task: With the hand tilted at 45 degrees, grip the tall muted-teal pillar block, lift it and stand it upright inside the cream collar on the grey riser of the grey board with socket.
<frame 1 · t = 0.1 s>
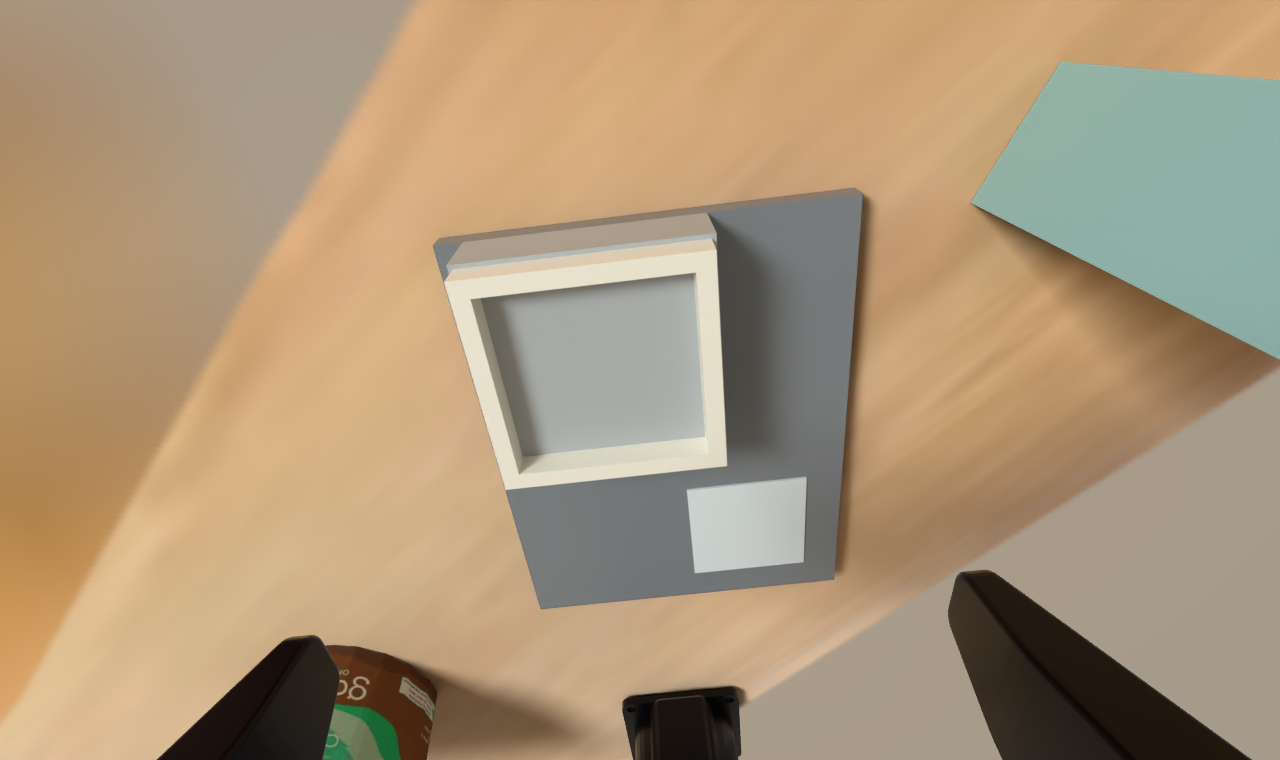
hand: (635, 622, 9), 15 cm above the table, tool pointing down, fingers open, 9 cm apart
pillar: (1068, 161, 20), on the table
grey board with socket: (668, 431, 25), on the table
food container: (335, 664, 32), on the table
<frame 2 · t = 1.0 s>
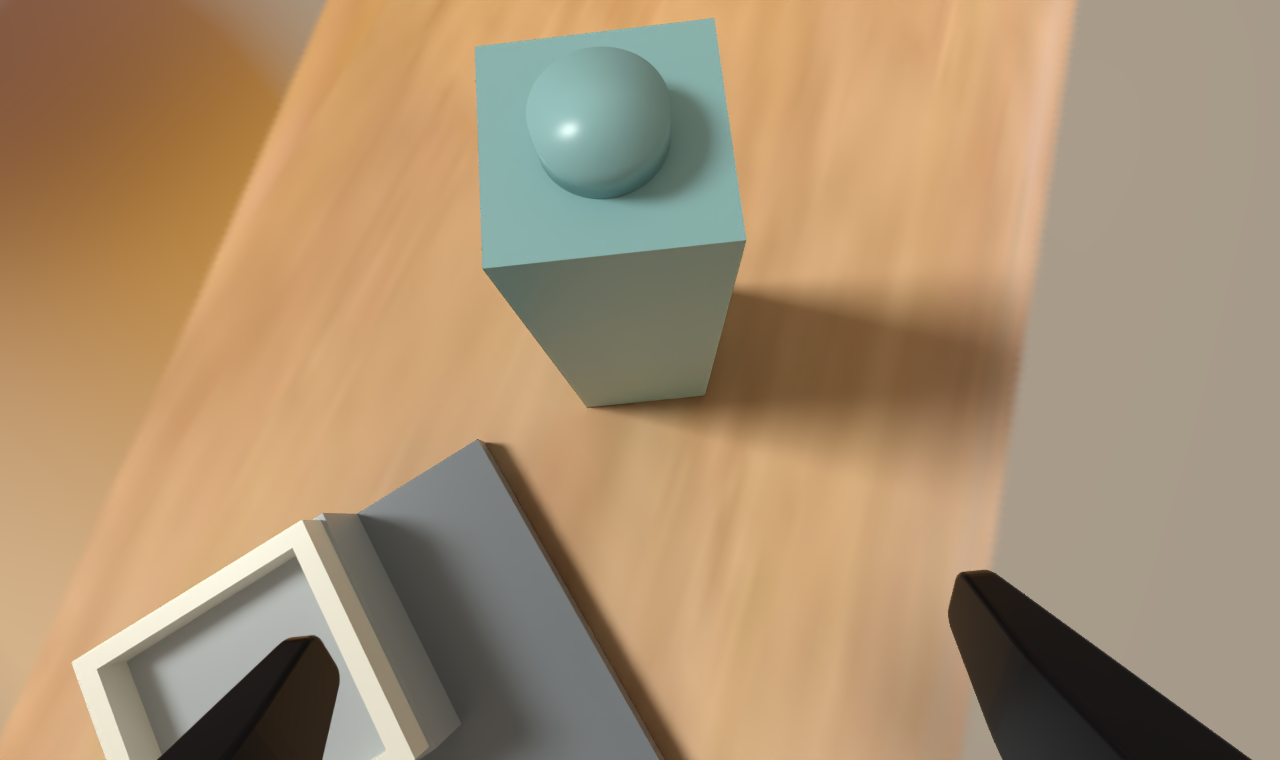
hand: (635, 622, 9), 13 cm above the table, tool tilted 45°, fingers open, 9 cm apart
pillar: (640, 344, 23), on the table
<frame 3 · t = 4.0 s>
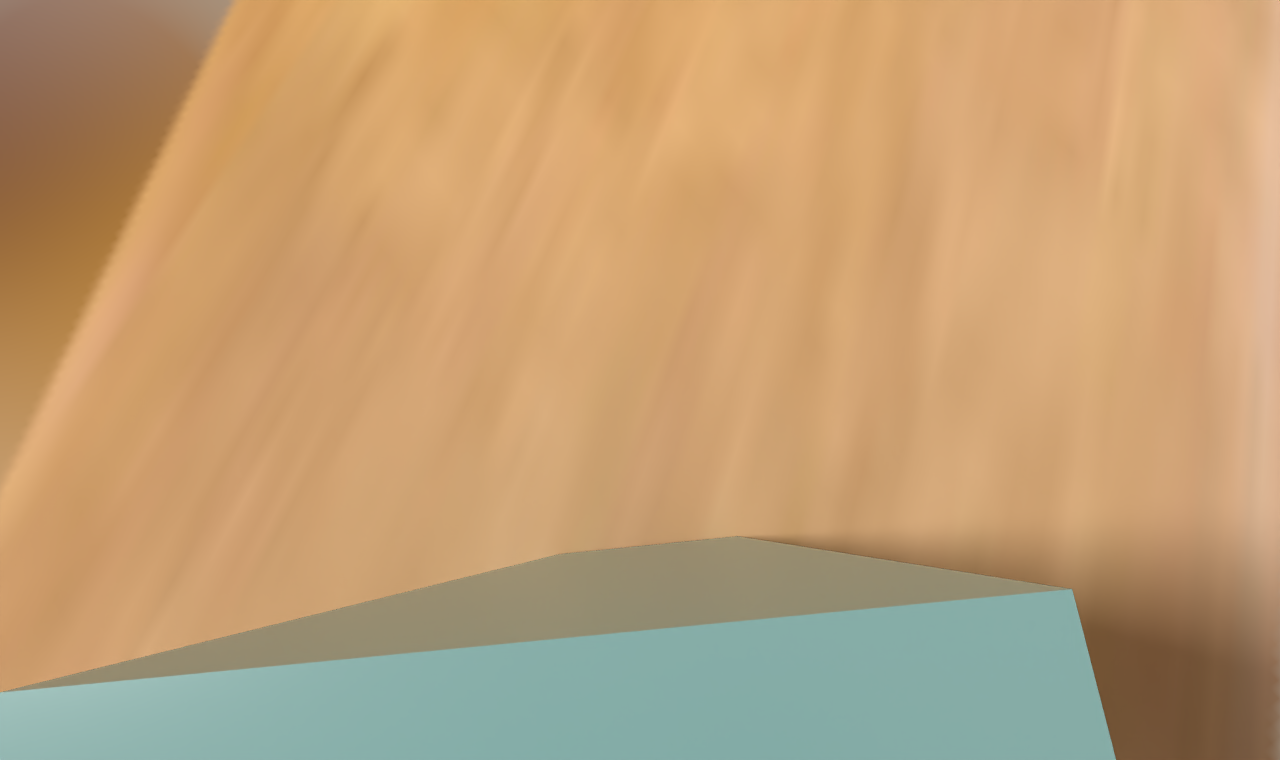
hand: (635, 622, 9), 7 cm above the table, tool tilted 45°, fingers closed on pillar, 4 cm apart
pillar: (657, 641, 15), on the table, touching gripper
when the fingers open (11 cm above the table, at t = 8.6 s): pillar drops 2 cm, resting on grey board with socket.
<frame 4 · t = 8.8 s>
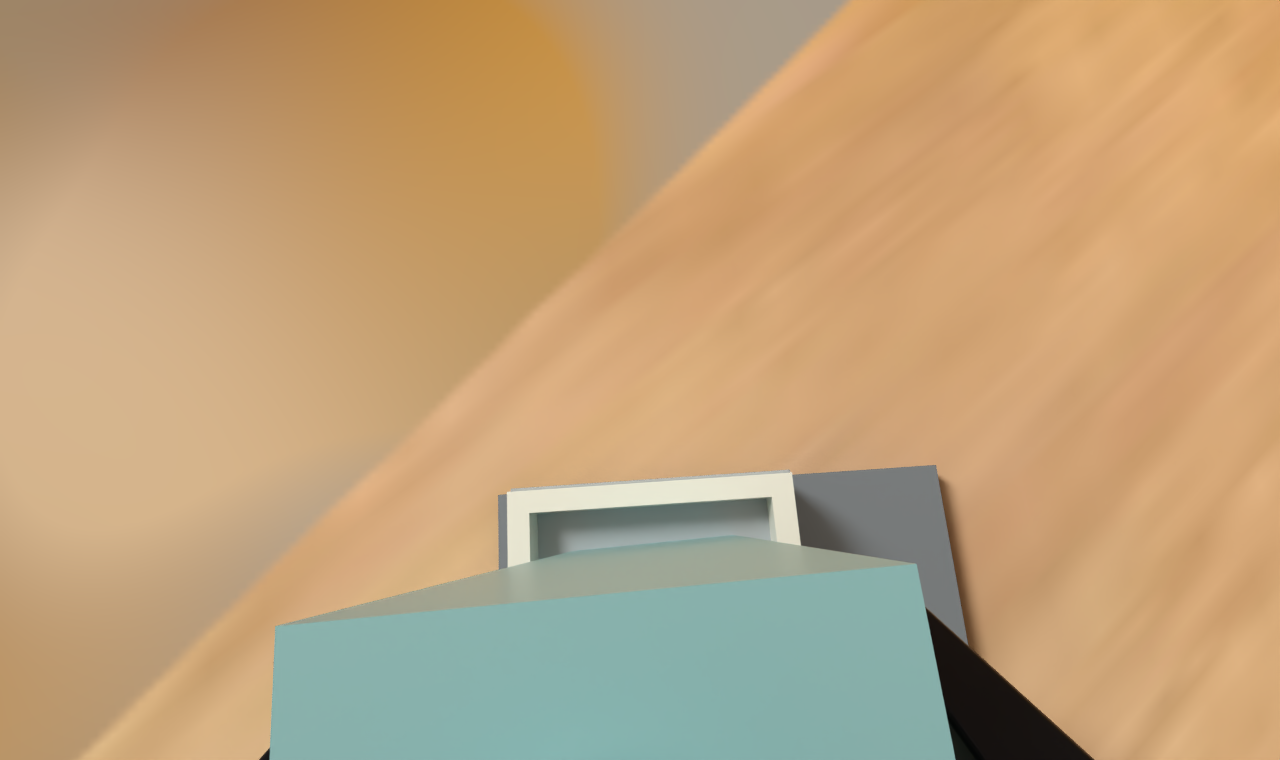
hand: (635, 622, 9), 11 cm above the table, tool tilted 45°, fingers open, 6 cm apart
pillar: (661, 628, 16), point 3 cm above the table, touching grey board with socket
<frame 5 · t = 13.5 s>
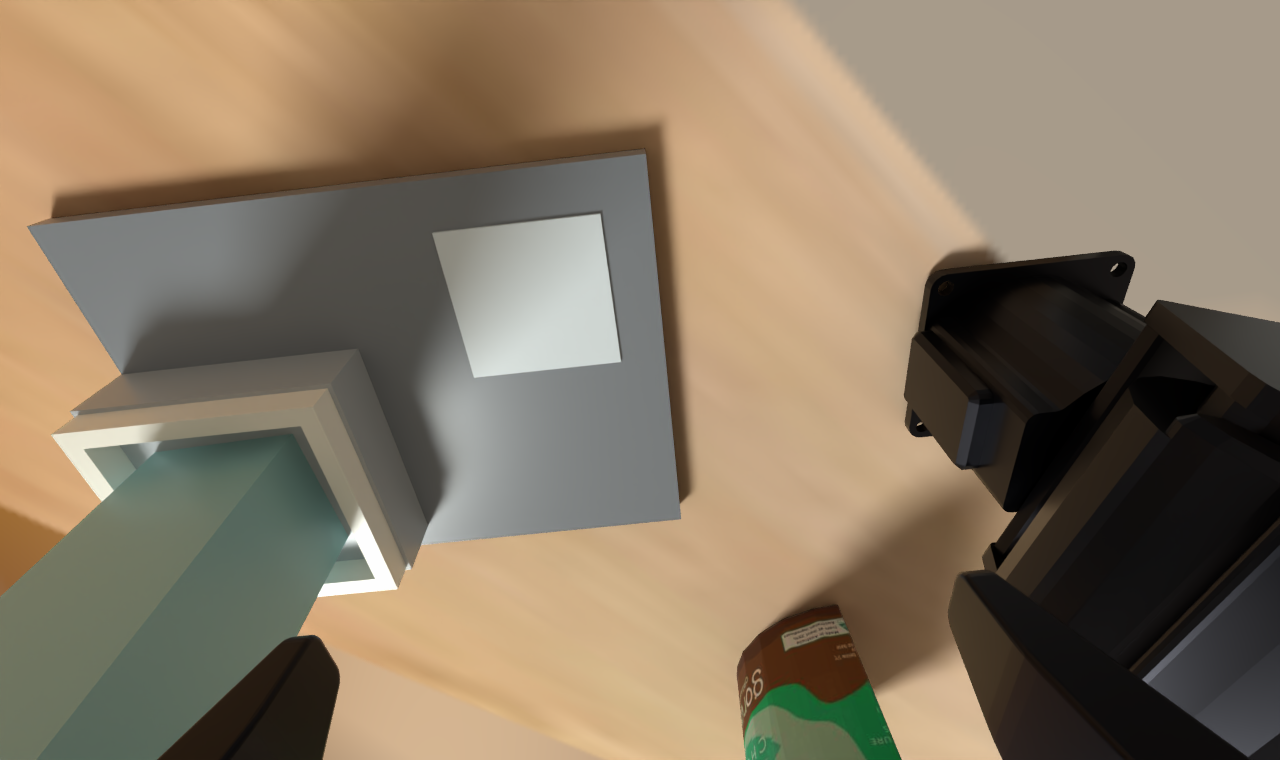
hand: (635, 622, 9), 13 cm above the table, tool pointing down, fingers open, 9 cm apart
pillar: (256, 496, 20), point 3 cm above the table, touching grey board with socket
grey board with socket: (413, 384, 21), on the table
food container: (772, 667, 31), on the table
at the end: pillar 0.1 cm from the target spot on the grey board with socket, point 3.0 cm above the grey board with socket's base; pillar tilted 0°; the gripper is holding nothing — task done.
